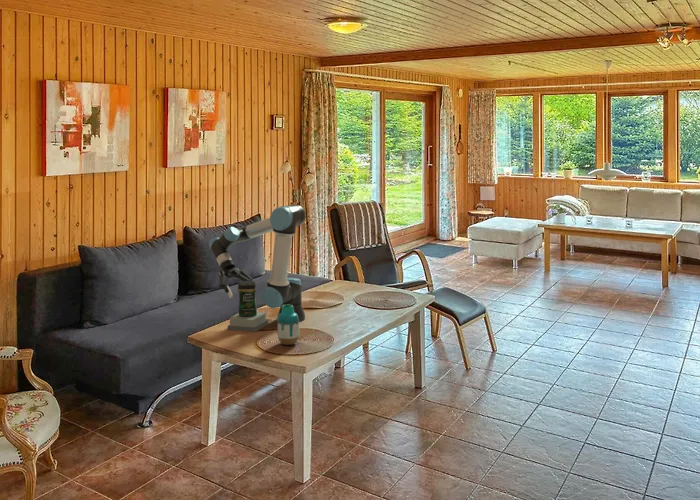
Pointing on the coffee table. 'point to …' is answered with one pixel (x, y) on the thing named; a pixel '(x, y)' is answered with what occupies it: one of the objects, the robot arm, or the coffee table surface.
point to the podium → (248, 322)
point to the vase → (288, 325)
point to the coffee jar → (247, 298)
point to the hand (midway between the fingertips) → (242, 294)
